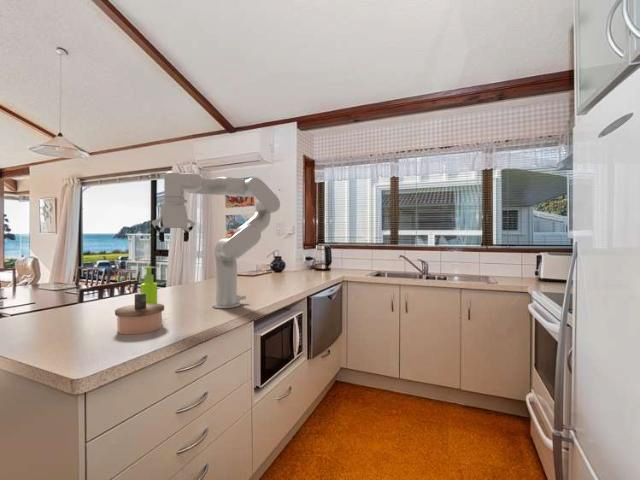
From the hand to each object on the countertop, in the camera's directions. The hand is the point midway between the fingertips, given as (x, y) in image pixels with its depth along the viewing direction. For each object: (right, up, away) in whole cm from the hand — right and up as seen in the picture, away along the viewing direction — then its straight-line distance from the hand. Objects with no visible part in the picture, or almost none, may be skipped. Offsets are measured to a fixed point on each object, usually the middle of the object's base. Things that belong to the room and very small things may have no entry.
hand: (174, 241), depth 131 cm
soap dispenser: (-8, -31, -5) cm, 32 cm away
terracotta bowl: (-1, -31, -23) cm, 38 cm away
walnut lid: (-1, -25, -23) cm, 34 cm away
